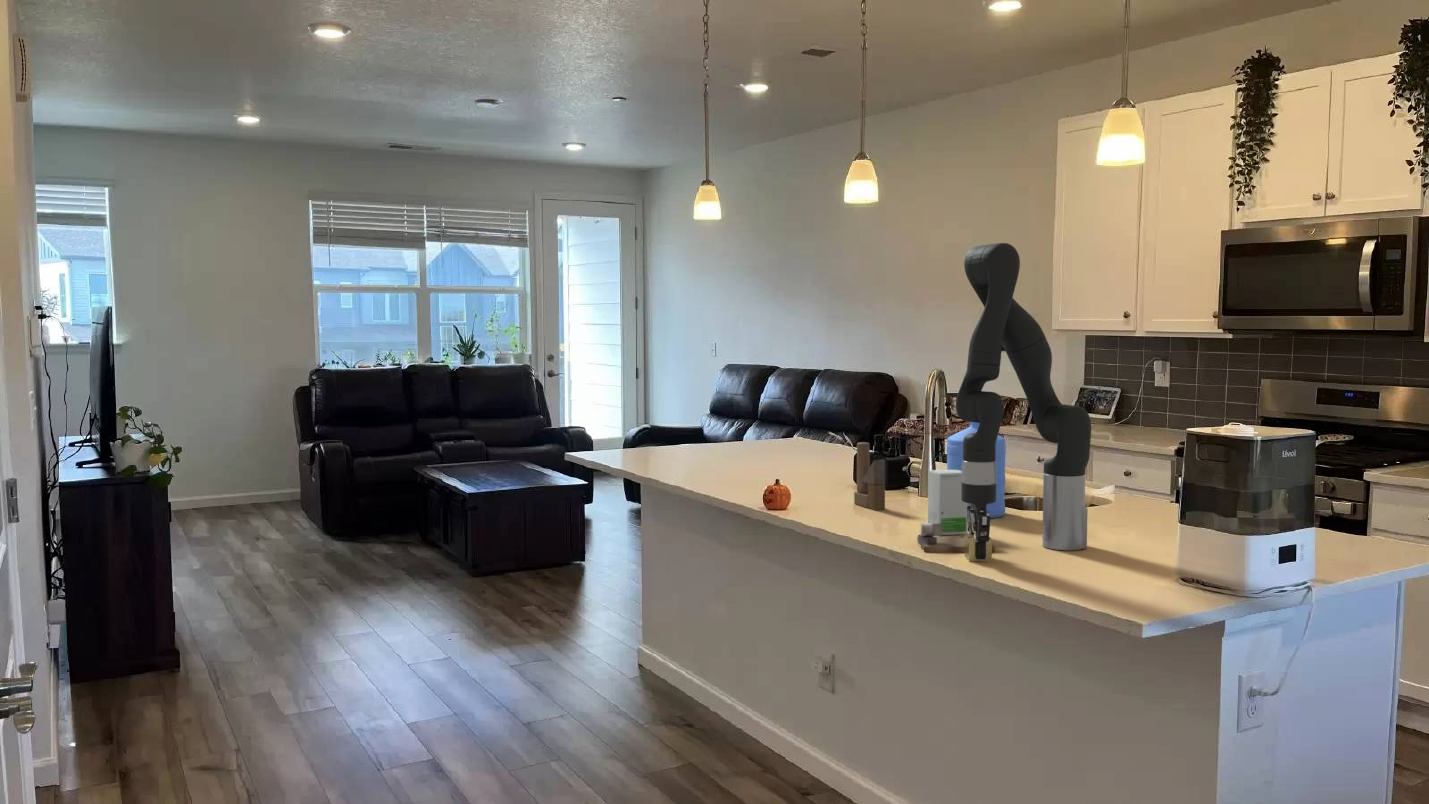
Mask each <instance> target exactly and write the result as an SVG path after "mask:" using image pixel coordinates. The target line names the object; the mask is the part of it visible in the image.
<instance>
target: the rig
mask: <svg viewBox="0 0 1429 804" xmlns="http://www.w3.org/2000/svg"><path fill="white" fill-rule="evenodd" d="M981 533H982V534H984V533H983V532H981ZM916 539H917V541H918V542H917V544H918V545H919V544H920V545H921V546H920V545H919V546H920V548H921V547H922V548H921V549H922V551H923V550H924V551H923V552H924V553H965V536H943V535H942V524H941V523H928V522H927V523H925V522H924V523H923V522H921V523H920V534H918V535H917V538H916ZM995 552H996V551H995V545H994V544H992V553H995Z"/></svg>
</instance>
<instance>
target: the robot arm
mask: <svg viewBox="0 0 1429 804" xmlns="http://www.w3.org/2000/svg"><path fill="white" fill-rule="evenodd" d="M963 264H964V267H963V268H964V271H965V272H964V273H965V274H966V278H967V280H968V281H969V285H970V286H971V287H972V289H973V291H974V292H975V293H976V295H977V297H978V299H979V300H980V302H981V304H982V305H983V307H984V308H983V311H982V313H981V315H980V317H979V320H978V321H977V323H976V326H975V327H974V329H973V331H972V334H971V338H970V341H969V347H968V355H967V365H966V371H965V374H964V376H963V379H962V382H961V384H960V387H959V389H958V393H957V395H956V400H955V410H956V413H957V416H958V418H959V419H960V420H962V421H964V422H966V423H967V422H968V423H971V422H976V423H980V424H979V428H978V430H977V432H976V433H971V434H968V435H966V436H965V437H964V440H963V464H962V476H961V500H962V501H963V502H965V503H969V504H971V505H970V506H967V517H968V528H967V531H968V534H975V558H976V559H985V558H986V543H987V541H989V537H990V532H991V531H990V529H991V520H992V518H990V516H989V511H987V507H986V505H987V504H992V503H994V502H995V501H996V463H995V457H996V440H997V436H998V435H999V432H1000V428H1001V427H1002V426H1001V425H1002V422H1003V420H1004V419H1003V418H1004V415H1005V405H1004V400H1003V398H1002V397H1001V395H1000V394H998V393H997V392H993V391H988V390H987V391H986V390H985V391H983V388H984V387H985V384H986V383H987V382H991V381H992V382H993V381H994V380H997V379H998V378H999V376H1000V369H1001V360H1002V349H1004V351H1005V352H1006V353H1005V354H1006V355H1007V357H1008V359H1009V362H1010V364H1011V366H1012V368H1013V370H1014V371H1015V374H1016V376H1017V378H1018V381H1019V383H1020V386H1021V388H1022V390H1023V393H1024V395H1025V397H1026V400H1027V403H1028V405H1029V409H1030V412H1031V415H1032V417H1033V420H1034V424H1035V427H1036V429H1037V431H1038V433H1039V435H1040V436H1041V437H1042V438H1043V439H1044V440H1045V441H1047V442H1049V443H1052V444H1057V447H1056V454H1055V455H1054V456H1053V457H1051V458H1047V459H1045V461H1044V463H1043V485H1042V486H1043V487H1042V489H1043V490H1042V491H1043V492H1042V493H1043V494H1042V497H1043V499H1042V546H1043V547H1044V548H1046V549H1047V548H1048V549H1050V550H1056V551H1077V550H1087V549H1088V512H1089V511H1088V507H1086V506H1085V505H1086V470H1087V465H1088V463H1089V460H1090V453H1091V439H1092V438H1091V437H1092V423H1091V422H1092V421H1091V418H1090V414H1089V413H1088V411H1087V410H1086V409H1085V408H1083V407H1082V406H1078V405H1071V404H1062V403H1061V401H1060V400H1059V398H1058V396H1057V394H1056V391H1055V390H1054V389H1055V388H1054V387H1053V385H1052V381H1051V373H1052V366H1053V365H1052V364H1053V355H1052V354H1053V353H1052V350H1051V349H1052V348H1051V346H1050V344H1049V342H1048V340H1047V338H1046V335H1045V333H1044V331H1043V328H1042V326H1040V323H1038V322H1037V321H1036V318H1034V317H1033V316H1032V315H1031V314H1030V313H1029V312H1028V311H1027V310H1026V309H1025V308H1023V307H1022V306H1021V305H1020V304H1019V303H1018V302H1017V301H1016V299H1014V293H1015V290H1016V286H1017V281H1018V278H1019V273H1020V269H1021V266H1020V265H1021V259H1020V254H1019V253H1018V251H1017V249H1016V248H1015V246H1013V245H1012V244H1010V243H1006V242H999V243H998V242H997V243H991V244H983V245H982V244H981V245H977V246H974V247H972V248H970V249H969V250H968V251H967V252H966V255H965V257H964V263H963ZM981 532H983V533H984V536H980V534H982V533H981Z"/></svg>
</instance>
